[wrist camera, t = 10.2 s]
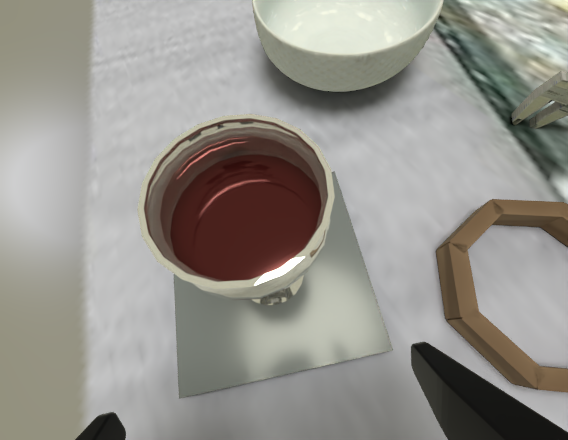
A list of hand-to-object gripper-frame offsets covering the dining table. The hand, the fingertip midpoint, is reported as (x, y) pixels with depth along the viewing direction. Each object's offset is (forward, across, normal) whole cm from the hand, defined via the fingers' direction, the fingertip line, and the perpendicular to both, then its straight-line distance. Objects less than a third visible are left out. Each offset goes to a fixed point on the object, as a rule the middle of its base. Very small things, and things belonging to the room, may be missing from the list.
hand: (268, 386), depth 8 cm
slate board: (+13, 0, +4) cm, 13 cm away
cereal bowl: (+28, -11, -12) cm, 32 cm away
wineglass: (+12, 0, +3) cm, 12 cm away
